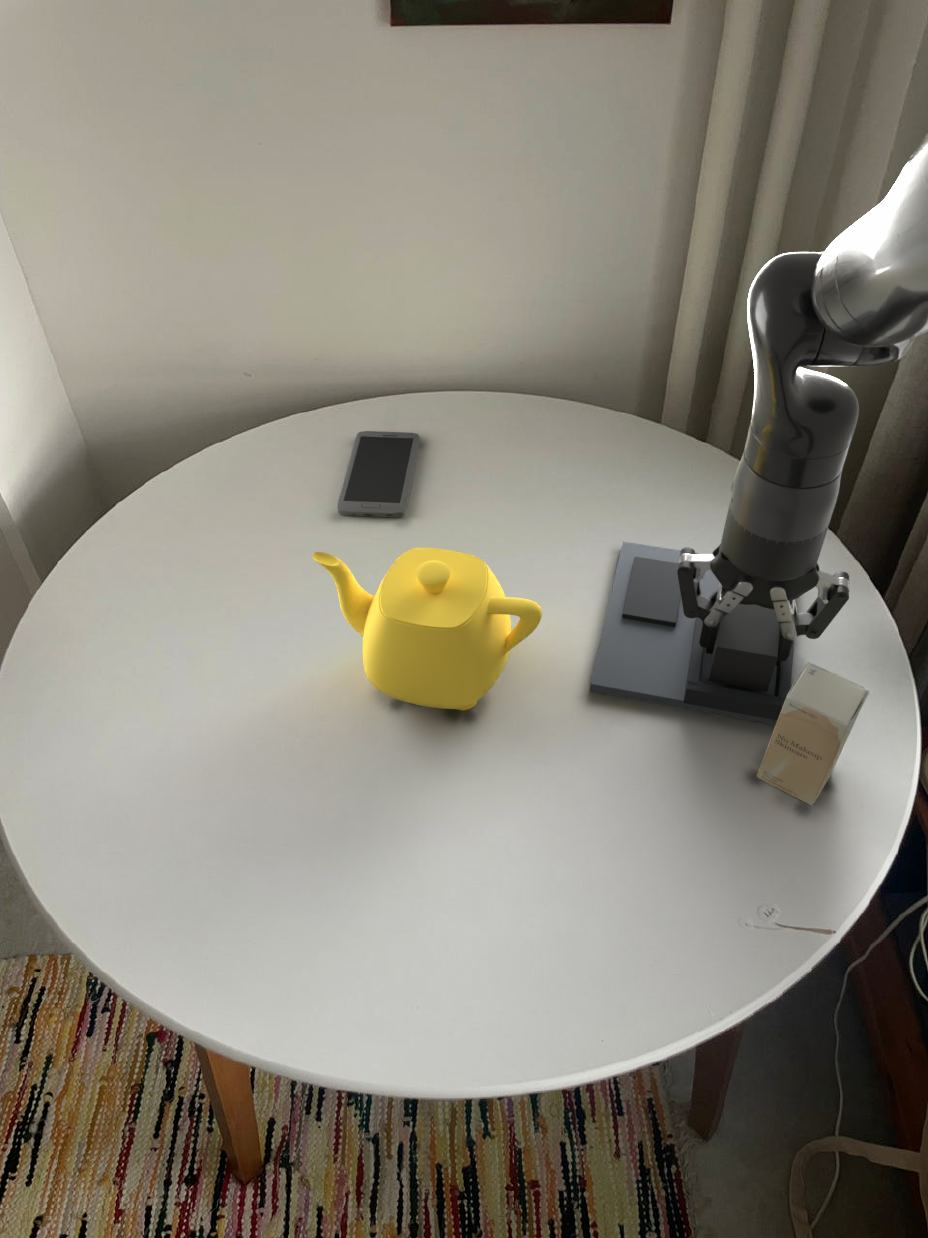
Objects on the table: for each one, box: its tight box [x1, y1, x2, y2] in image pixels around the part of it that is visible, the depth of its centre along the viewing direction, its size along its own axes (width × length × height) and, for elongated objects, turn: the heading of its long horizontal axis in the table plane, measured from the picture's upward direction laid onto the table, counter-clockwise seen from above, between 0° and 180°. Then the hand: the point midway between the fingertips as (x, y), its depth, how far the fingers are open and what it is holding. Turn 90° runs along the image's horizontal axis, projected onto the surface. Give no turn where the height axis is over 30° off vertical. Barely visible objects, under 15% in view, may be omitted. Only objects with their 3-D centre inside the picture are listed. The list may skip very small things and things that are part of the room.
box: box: [756, 661, 870, 806], centre depth 81 cm, size 5×4×11 cm
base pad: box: [589, 541, 795, 726], centre depth 95 cm, size 17×19×3 cm
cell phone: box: [337, 430, 421, 518], centre depth 112 cm, size 7×14×1 cm, turn 175°
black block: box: [709, 604, 780, 691], centre depth 89 cm, size 5×7×4 cm
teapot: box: [311, 546, 543, 711], centre depth 89 cm, size 13×20×12 cm
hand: (742, 652), depth 90 cm, fingers closed on black block, 5 cm apart
